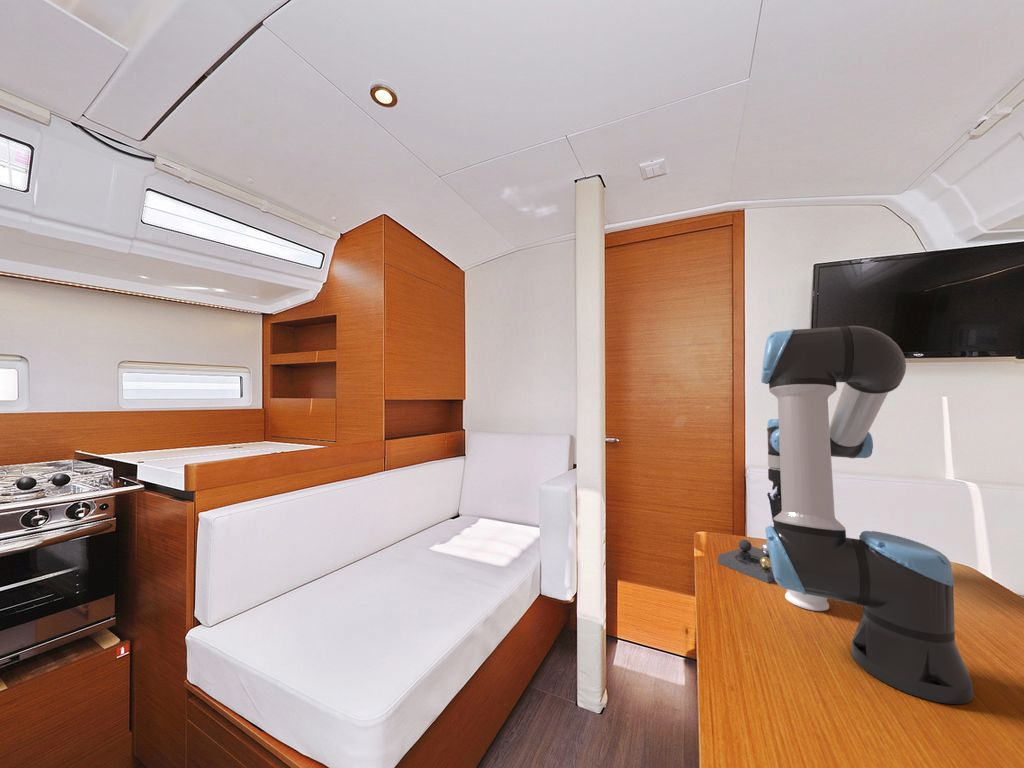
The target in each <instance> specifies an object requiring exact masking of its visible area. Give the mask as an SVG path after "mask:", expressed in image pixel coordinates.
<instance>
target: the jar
mask: <svg viewBox="0 0 1024 768" xmlns="http://www.w3.org/2000/svg"><path fill="white" fill-rule="evenodd" d="M785 590H786V593H785V594H784V597H785V599H786V600H787V601H788V602H789V603H791V604H792V605H795V606H796V607H799V608H802V609H805V610H809V611H813V612H815V611H816V612H825V611H827V610H829V608H830V604H829V602H828V599H829V598H824V597H819V596H814V595H809V594H806V595H804V594H802V593H800V592H796V591H792V590H788V589H785Z"/></svg>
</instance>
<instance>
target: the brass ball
mask: <svg viewBox="0 0 1024 768" xmlns="http://www.w3.org/2000/svg"><path fill="white" fill-rule="evenodd" d="M760 565H761V566H762V567H763V568H765V569H770V568H771V567H772V566H771V561H770V559H769V558H768V557H762V558H761V559H760Z"/></svg>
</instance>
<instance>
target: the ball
mask: <svg viewBox="0 0 1024 768" xmlns="http://www.w3.org/2000/svg"><path fill="white" fill-rule="evenodd" d="M760 549H761V550H762V552H763V553H764V554H765V555H768V556H769V551H768V545H767V542H765V543H762V545H761V547H760Z"/></svg>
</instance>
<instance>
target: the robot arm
mask: <svg viewBox="0 0 1024 768" xmlns="http://www.w3.org/2000/svg"><path fill="white" fill-rule="evenodd" d="M764 348H765V349H764V355H763V361H762V369H761V383H762V384H766V385H768V390H769V391H768V392H769V393H771V394H772V395H773V396H774V397H775V398H776V399H777V413H778V415H777V417H778V418H771V419H768V420H767V427H766V431H767V466H768V471H767V473H768V474H767V476H768V477H767V478H768V480H769V481H770V482H772V483H773V484H772V489H771V490H772V491H771V492H767V494H766V495H767V499H768V500H769V506H770V512H771V519H772V522H773V525H769V526H766V527H765V537H766V543H767V545H768V551H769V556H770V561H771V566H772V571H773V575H774V578H775V581H774V582H776V583H777V585H779V586H780V588H783V589H785V590H786V589H788V590H792V591H796V592H800V593H802V594H804V595H806V594H809V595H814V596H819V597H824V598H828V599H829V600H834V601H838V602H844V603H848V604H849V603H850V604H855V605H859V606H862V616H861V619H860V621H859V623H858V626H857V627H856V630H855V631H854V633H853V637H852V638H851V656H852V657H853V659H854V661H855V662H856V663H857V665H858V666H859V667H861V668H862V669H863V670H865V672H867V673H868V674H869V675H871V676H873V677H874V678H876V679H877V680H879V681H881V682H883V683H884V684H886V685H889V686H890V687H893V688H895V689H896V690H900V691H901V692H903V693H906V694H909V695H913V696H915V697H918V698H920V699H924V700H927V701H932V702H936V703H942V704H948V705H963V704H967V703H970V702H971V701H972V700H973V698H974V691H973V690H974V689H973V688H974V687H973V679H972V678H971V675H970V673H969V671H968V668H967V667H966V664H965V662H964V660H963V657H962V655H961V653H960V651H959V649H958V646H957V643H956V633H955V632H956V631H955V630H956V629H955V627H956V626H955V603H954V597H955V596H954V595H955V593H954V586H955V585H956V584H955V583H956V582H954V575H953V569H952V568H953V567H952V564H951V561H950V560H949V558H948V557H947V556H946V555H945V554H943V553H942V552H940V551H939V550H938V549H935V548H933V547H930V546H928V545H926V544H924V543H921V542H919V541H915V540H912V539H909V538H906V537H904V536H899V535H895V534H891V533H887V532H881V531H875V530H871V531H870V530H864V531H862V532H861V533H860V535H859V538H851V537H847V531H846V530H847V529H846V527H845V525H843V524H842V523H841V522H840V521H838V519H836V515H835V503H834V502H835V500H834V497H835V496H834V486H833V485H834V481H833V480H834V479H833V468H832V465H833V464H832V457H835V458H849V459H867V458H870V457H871V456H872V454H873V450H874V440H873V436H872V435H871V432H869V431H870V429H871V428H872V426H873V423H874V421H875V419H876V417H877V416H878V413H879V412H880V410H881V407H882V406H883V403H884V402H885V400H886V397H887V396H888V394H889V393H891V392H893V391H894V390H896V389H897V388H898V387H899V386H900V385H901V383H902V380H903V379H904V377H905V374H906V371H907V362H906V358H905V355H904V353H903V350H902V349H901V348H900V346H899V345H898V344H897V342H896V341H894V339H892V338H891V337H890V336H888V335H886V334H885V333H884V332H882V331H879V330H877V329H875V328H872V327H867V326H863V325H862V326H861V325H847V326H835V327H834V326H832V327H818V328H817V327H816V328H815V327H814V328H800V329H795V328H793V329H790V330H780V331H774V332H772V333H770V334H769V335H768V336H767V338H766V342H765V347H764ZM837 383H844V384H843V387H842V390H841V392H840V396H839V399H838V401H837V404H836V407H835V410H834V412H833V414H832V418H831V422H830V418H829V416H830V415H829V401H828V399H829V398H830V396H832V395H833V394H834V393H835V392H836V391H837V390H838V389H837Z"/></svg>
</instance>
